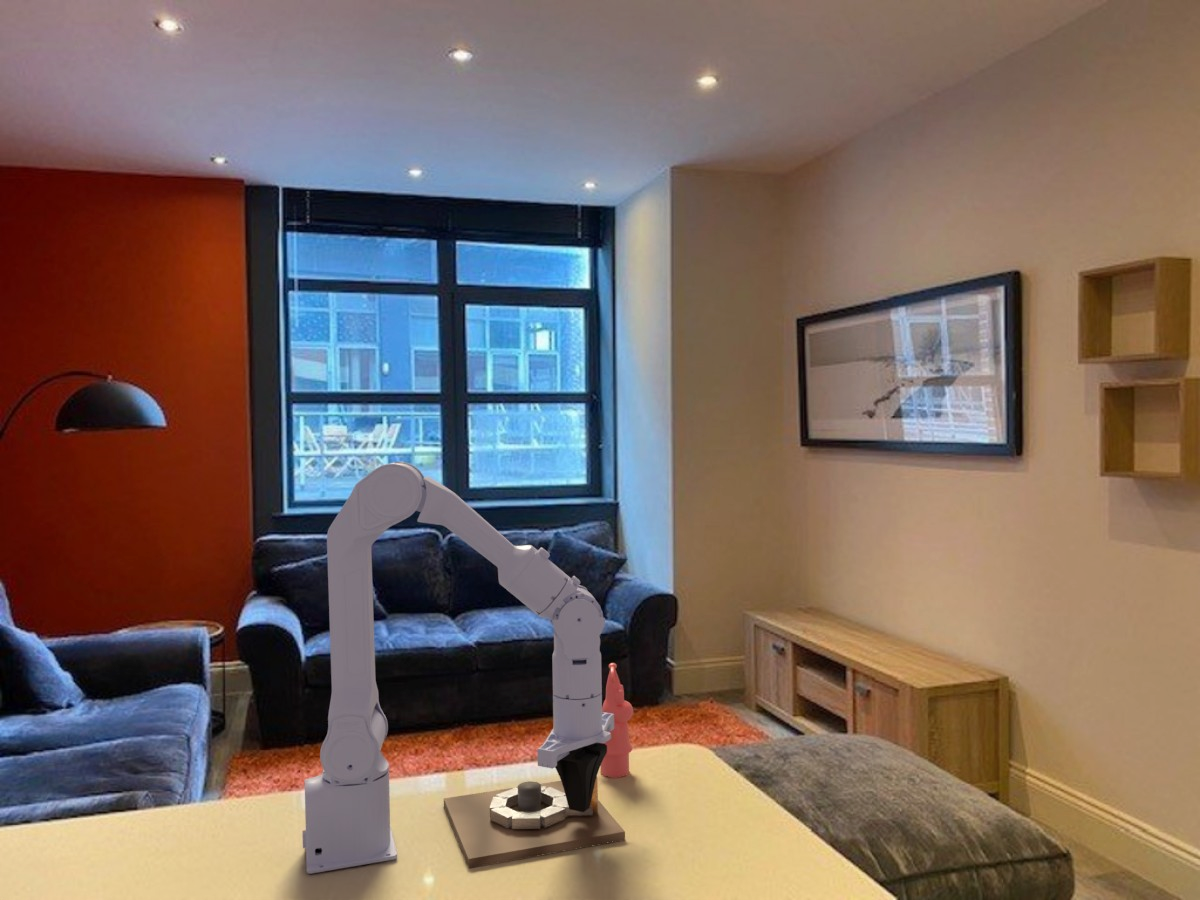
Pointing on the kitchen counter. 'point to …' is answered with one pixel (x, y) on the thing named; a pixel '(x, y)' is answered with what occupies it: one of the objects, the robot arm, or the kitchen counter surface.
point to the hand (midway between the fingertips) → (579, 808)
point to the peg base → (502, 844)
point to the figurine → (617, 728)
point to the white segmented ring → (541, 818)
